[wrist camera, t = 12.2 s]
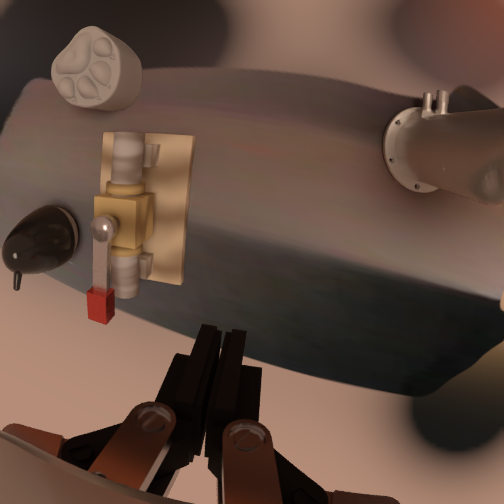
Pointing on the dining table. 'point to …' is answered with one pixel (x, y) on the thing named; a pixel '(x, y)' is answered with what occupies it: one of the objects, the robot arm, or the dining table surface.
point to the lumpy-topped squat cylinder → (97, 71)
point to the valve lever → (102, 270)
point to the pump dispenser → (40, 242)
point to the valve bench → (163, 200)
